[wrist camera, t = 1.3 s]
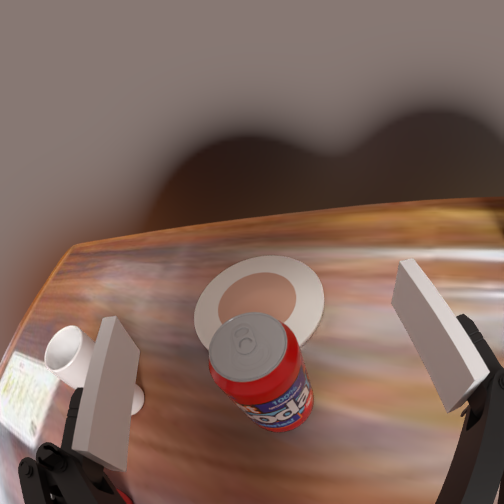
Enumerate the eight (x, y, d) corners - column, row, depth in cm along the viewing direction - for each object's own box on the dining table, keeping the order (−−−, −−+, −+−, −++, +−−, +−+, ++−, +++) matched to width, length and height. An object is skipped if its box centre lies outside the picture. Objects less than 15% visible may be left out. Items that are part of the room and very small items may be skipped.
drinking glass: (124, 429, 34) (48, 382, 24) (108, 398, 38) (40, 345, 29) (158, 404, 36) (88, 348, 27) (138, 373, 41) (76, 315, 31)
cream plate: (314, 249, 51) (313, 245, 50) (334, 353, 36) (333, 349, 35) (204, 271, 54) (202, 267, 54) (188, 371, 39) (185, 367, 39)
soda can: (300, 366, 36) (275, 291, 26) (325, 417, 30) (312, 363, 20) (242, 390, 35) (193, 325, 26) (261, 443, 29) (211, 403, 20)
